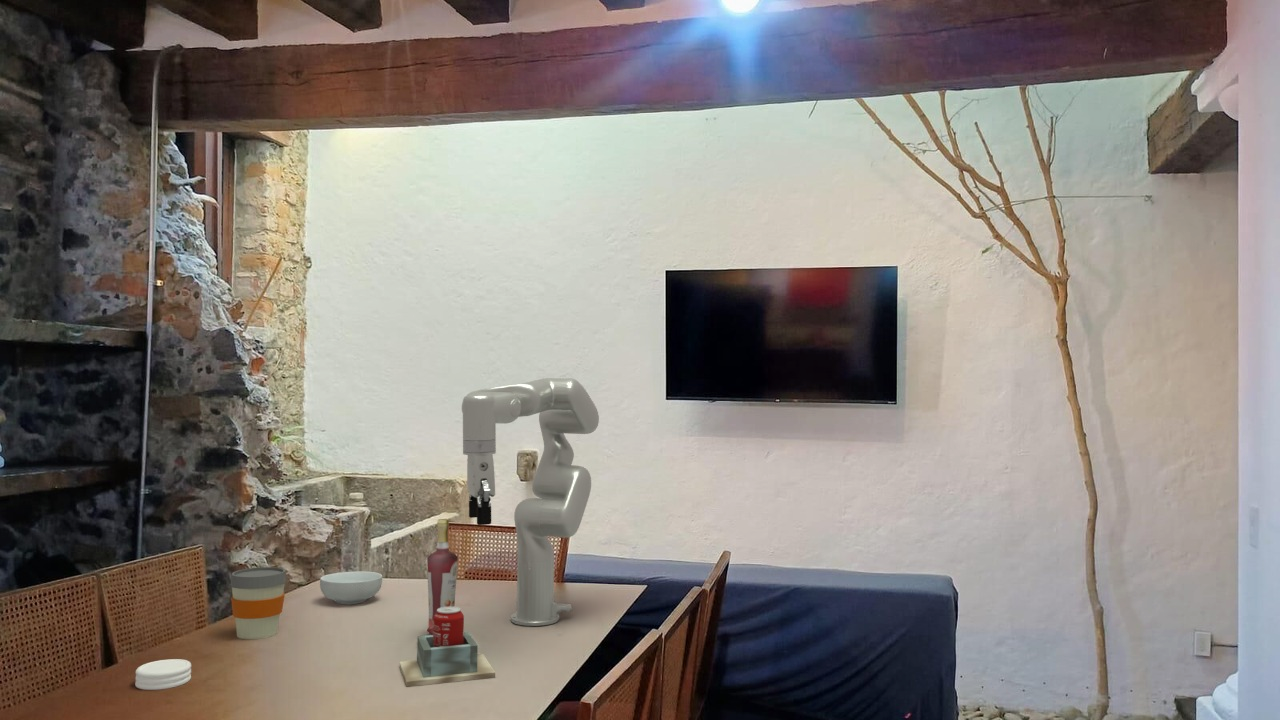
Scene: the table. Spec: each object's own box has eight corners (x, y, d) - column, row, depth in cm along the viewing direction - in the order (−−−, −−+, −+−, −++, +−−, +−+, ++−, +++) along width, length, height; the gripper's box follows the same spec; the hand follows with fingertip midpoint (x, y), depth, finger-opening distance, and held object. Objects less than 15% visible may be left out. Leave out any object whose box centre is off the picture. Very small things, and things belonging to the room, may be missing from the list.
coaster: (132, 694, 172) (133, 675, 172) (137, 679, 181) (137, 661, 181) (190, 687, 176) (190, 669, 176) (191, 672, 185) (192, 656, 185)
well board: (482, 658, 197) (483, 628, 197) (495, 677, 183) (495, 645, 184) (399, 666, 190) (400, 635, 190) (406, 686, 177) (407, 654, 177)
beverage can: (468, 663, 190) (469, 607, 190) (454, 671, 184) (455, 613, 184) (442, 660, 191) (443, 604, 192) (427, 669, 185) (428, 611, 186)
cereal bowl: (394, 599, 251) (395, 574, 251) (346, 611, 237) (347, 585, 237) (354, 592, 260) (355, 567, 260) (306, 602, 246) (307, 577, 246)
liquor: (448, 640, 211) (451, 522, 212) (420, 637, 212) (422, 521, 213) (461, 631, 218) (463, 518, 219) (433, 630, 219) (435, 517, 220)
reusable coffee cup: (294, 634, 214) (295, 572, 215) (242, 644, 205) (243, 579, 206) (271, 624, 223) (272, 564, 223) (220, 634, 214) (222, 571, 214)
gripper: (503, 450, 198) (504, 526, 198) (487, 443, 214) (488, 513, 214) (470, 451, 195) (470, 528, 195) (456, 444, 211) (457, 515, 211)
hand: (479, 520), depth 205 cm, fingers open, 9 cm apart
